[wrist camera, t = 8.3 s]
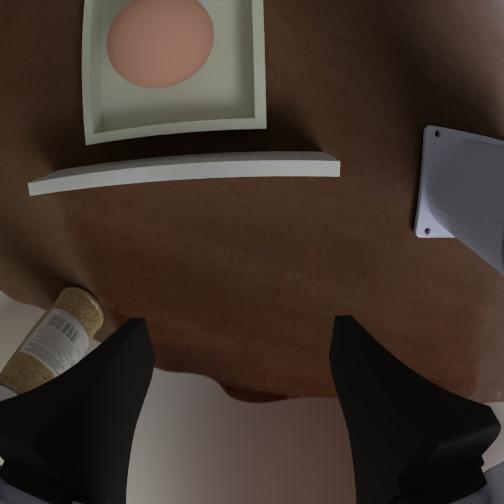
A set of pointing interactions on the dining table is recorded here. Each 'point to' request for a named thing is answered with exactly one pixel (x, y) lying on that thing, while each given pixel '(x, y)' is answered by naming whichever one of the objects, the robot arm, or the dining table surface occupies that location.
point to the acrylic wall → (189, 169)
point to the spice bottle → (53, 343)
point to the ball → (160, 41)
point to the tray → (185, 93)
